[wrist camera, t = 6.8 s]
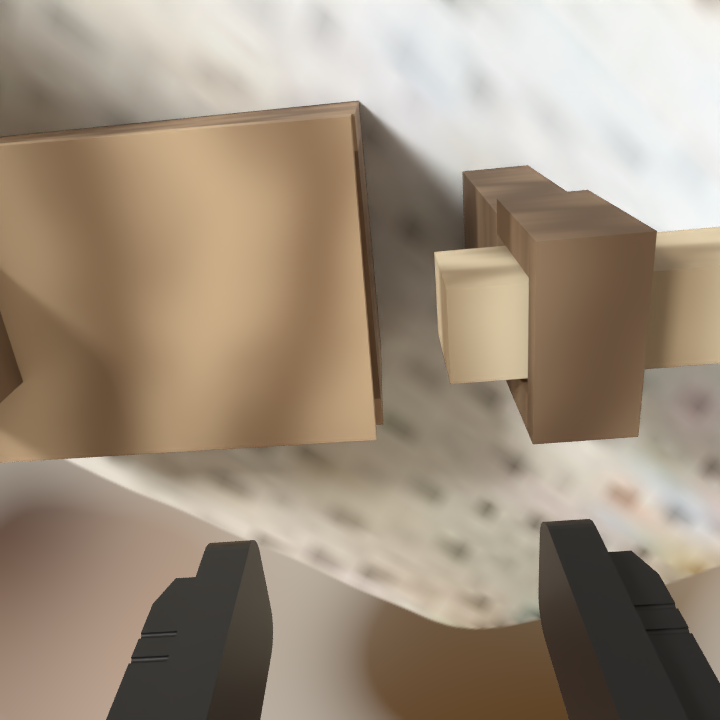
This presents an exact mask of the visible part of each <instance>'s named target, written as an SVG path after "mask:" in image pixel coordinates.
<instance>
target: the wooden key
mask: <svg viewBox="0 0 720 720" xmlns="http://www.w3.org/2000/svg"><path fill="white" fill-rule="evenodd" d="M434 257H435V278H436V298H437V318H438V335H439V339H440V343H441V347H442V351H443V355H444V359H445V364H446V368H447V372H448V376H449V380H450V384H458V383H471V382H484V381H497V380H510V379H523V378H528V309H529V277H528V276H527V275H526V273H525V272H524V270H523V269H522V268H521V266H520V265H519V263H518V262H517V261H516V259H515V258H514V257H513V255H512V254H511V252H510V251H509V250H508V248H507V247H506V246H496V247H485V248H474V249H462V250H451V251H439V252H434ZM718 363H720V227H712V228H701V229H689V230H678V231H667V232H657V237H656V248H655V259H654V270H653V280H652V291H651V302H650V313H649V324H648V335H647V346H646V357H645V368H644V369H653V368H666V367H679V366H692V365H705V364H718Z"/></svg>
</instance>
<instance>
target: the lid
mask: <svg viewBox="0 0 720 720" xmlns="http://www.w3.org/2000/svg"><path fill="white" fill-rule="evenodd" d="M368 440H376V416H375V403H374V391H373V378H372V366H371V353H370V341H369V329H368V316H367V304H366V291H365V279H364V266H363V254H362V241H361V229H360V217H359V204H358V192H357V179H356V167H355V154H354V142H353V129H352V117H351V114H344V115H332V116H320V117H308V118H296V119H284V120H272V121H261V122H249V123H237V124H225V125H213V126H201V127H189V128H177V129H166V130H154V131H142V132H130V133H118V134H106V135H94V136H82V137H71V138H59V139H47V140H35V141H23V142H11V143H0V463H2V462H19V461H36V460H51V459H69V458H86V457H102V456H119V455H135V454H152V453H169V452H185V451H202V450H218V449H235V448H251V447H268V446H285V445H301V444H318V443H334V442H351V441H368Z"/></svg>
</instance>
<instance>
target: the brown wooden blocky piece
mask: <svg viewBox="0 0 720 720" xmlns="http://www.w3.org/2000/svg"><path fill="white" fill-rule="evenodd" d="M344 114H351V117H352V129H353V142H354V154H355V167H356V179H357V192H358V204H359V217H360V229H361V241H362V254H363V266H364V279H365V291H366V304H367V316H368V329H369V341H370V353H371V366H372V378H373V391H374V403H375V416H376V425H381V424H383V403H382V371H381V344H380V333H379V322H378V311H377V299H376V288H375V277H374V266H373V254H372V243H371V232H370V221H369V210H368V198H367V187H366V176H365V165H364V154H363V142H362V131H361V120H360V109H359V101H351V102H342V103H332V104H322V105H312V106H302V107H292V108H282V109H272V110H262V111H253V112H243V113H233V114H223V115H213V116H203V117H193V118H183V119H173V120H164V121H154V122H144V123H134V124H124V125H114V126H104V127H94V128H84V129H74V130H65V131H55V132H45V133H35V134H25V135H15V136H5V137H0V143H11V142H23V141H35V140H47V139H59V138H71V137H82V136H94V135H106V134H118V133H130V132H142V131H154V130H166V129H177V128H189V127H201V126H213V125H225V124H237V123H249V122H261V121H272V120H284V119H296V118H308V117H320V116H332V115H344ZM463 204H464V237H465V249H474V248H485V247H496V246H506V247H507V248H508V250H509V251H510V252H511V254H512V255H513V257H514V258H515V259H516V261H517V262H518V263H519V265H520V266H521V268H522V269H523V270H524V272H525V273H526V275H527V276H528V277H529V309H528V378H523V379H510V380H506V381H507V384H508V386H509V388H510V391H511V393H512V395H513V398H514V400H515V403H516V405H517V407H518V410H519V412H520V414H521V417H522V419H523V422H524V424H525V426H526V429H527V431H528V433H529V436H530V438H531V441H532V443H533V444H544V443H558V442H572V441H586V440H600V439H614V438H628V437H638V433H639V422H640V411H641V401H642V390H643V379H644V368H645V357H646V346H647V335H648V324H649V313H650V302H651V291H652V280H653V270H654V259H655V248H656V237H657V231H656V230H654V229H653V228H651V227H649V226H648V225H646V224H644V223H643V222H641V221H639V220H637V219H636V218H634V217H632V216H631V215H629V214H627V213H626V212H624V211H622V210H621V209H619V208H617V207H616V206H614V205H612V204H611V203H609V202H607V201H606V200H604V199H602V198H601V197H599V196H597V195H595V194H594V193H592V192H590V191H589V190H582V191H571V192H567V191H565V190H564V189H562V188H561V187H559V186H558V185H556V184H555V183H553V182H552V181H550V180H549V179H547V178H546V177H544V176H543V175H541V174H540V173H538V172H537V171H535V170H534V169H532V168H531V167H529V166H528V165H527V166H517V167H506V168H496V169H485V170H475V171H464V172H463Z"/></svg>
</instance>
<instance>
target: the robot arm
mask: <svg viewBox="0 0 720 720" xmlns="http://www.w3.org/2000/svg"><path fill="white" fill-rule="evenodd" d="M539 610H540V618H541V624H542V629H543V633H544V637H545V641H546V644H547V647H548V651H549V654H550V657H551V661H552V664H553V667H554V671H555V674H556V677H557V681H558V684H559V688H560V691H561V694H562V697H563V701H564V704H565V707H566V711H567V714H568V718H569V720H720V683H719V681H718V679H717V677H716V676H715V674H714V672H713V670H712V669H711V667H710V665H709V663H708V661H707V660H706V658H705V656H704V654H703V652H702V651H701V649H700V647H699V645H698V644H697V642H696V640H695V638H694V636H693V634H692V633H691V634H690V633H689V630H688V626H687V624H686V622H685V620H684V618H683V617H682V615H681V613H680V611H679V610H678V609H676V607H675V602H674V600H673V599H672V597H671V595H670V593H669V592H668V590H667V588H666V586H665V584H664V583H663V581H662V579H661V577H660V575H659V574H658V573H657V572H656V571H654V570H653V569H652V568H651V567H650V566H649V565H647V564H646V563H645V562H644V561H643V560H641V559H640V558H639V557H638V556H637V555H636V554H634V553H633V552H632V551H619V552H608V551H607V549H606V547H605V545H604V543H603V541H602V538H601V536H600V534H599V532H598V530H597V528H596V526H595V524H594V523H593V521H592V520H590V519H582V520H567V521H552V522H542V524H541V527H540V552H539ZM272 643H273V622H272V613H271V607H270V601H269V596H268V591H267V586H266V582H265V577H264V571H263V567H262V561H261V556H260V551H259V547H258V544H257V542H256V541H255V540H250V541H235V542H219V543H210V544H208V545H207V547H206V549H205V551H204V554H203V558H202V560H201V563H200V566H199V569H198V572H197V575H196V577H192V578H176V579H175V580H174V581H173V582H172V583H171V584H170V586H169V587H168V588H167V589H166V590H165V591H164V592H163V594H161V596H160V597H159V598H158V599H157V600H156V601H155V602H154V603H153V605H152V607H151V610H150V613H149V615H148V617H147V620H146V622H145V625H144V627H143V630H142V632H141V639H139V640H138V642H137V645H136V647H135V649H134V652H133V655H132V657H131V658H132V661H131V664H129V665H128V667H127V669H126V672H125V674H124V677H123V679H122V682H121V684H120V687H119V689H118V692H117V694H116V697H115V699H114V702H113V704H112V707H111V709H110V711H109V714H108V717H107V719H106V720H260V718H261V712H262V706H263V700H264V694H265V688H266V682H267V677H268V671H269V665H270V659H271V653H272Z"/></svg>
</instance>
